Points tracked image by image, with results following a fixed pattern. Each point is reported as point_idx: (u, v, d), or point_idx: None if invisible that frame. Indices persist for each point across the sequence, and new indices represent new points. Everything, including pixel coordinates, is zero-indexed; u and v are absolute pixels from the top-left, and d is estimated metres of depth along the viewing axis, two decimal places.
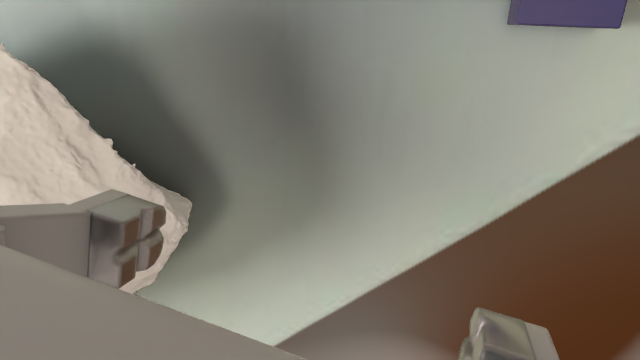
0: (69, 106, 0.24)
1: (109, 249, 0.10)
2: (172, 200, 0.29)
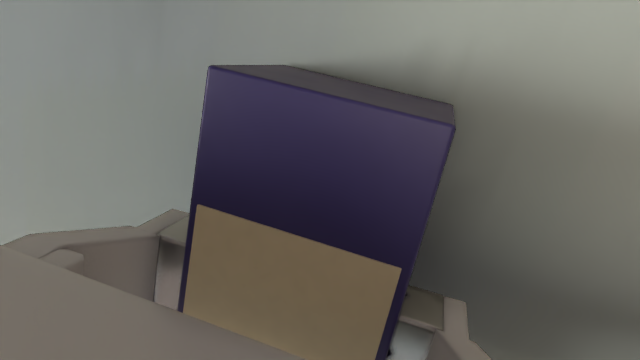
0: None
1: (177, 273, 0.10)
2: None
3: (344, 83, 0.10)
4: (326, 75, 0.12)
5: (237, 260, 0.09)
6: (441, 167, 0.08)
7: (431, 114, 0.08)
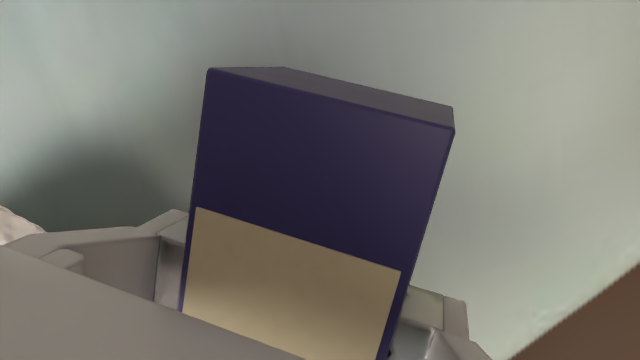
0: None
1: (177, 273, 0.10)
2: None
3: (344, 85, 0.10)
4: (326, 77, 0.11)
5: (236, 263, 0.09)
6: (441, 170, 0.08)
7: (431, 117, 0.08)
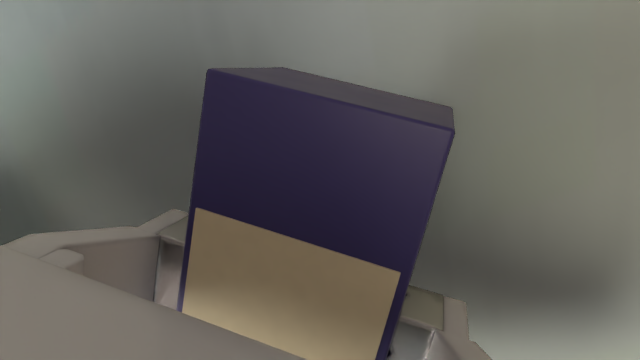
0: None
1: (177, 273, 0.10)
2: None
3: (343, 86, 0.10)
4: (325, 77, 0.11)
5: (236, 263, 0.09)
6: (440, 171, 0.08)
7: (430, 118, 0.08)
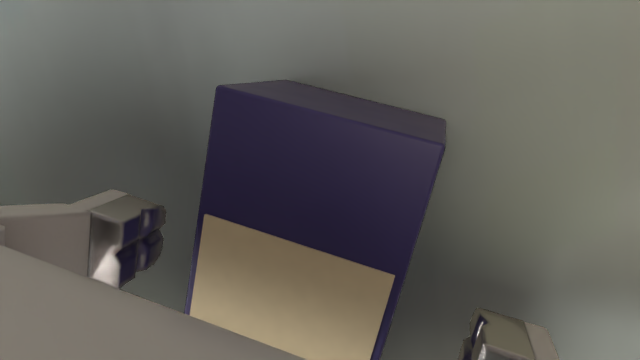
0: None
1: (109, 249, 0.10)
2: None
3: (343, 99, 0.11)
4: (326, 90, 0.12)
5: (241, 266, 0.10)
6: (432, 182, 0.08)
7: (423, 132, 0.09)
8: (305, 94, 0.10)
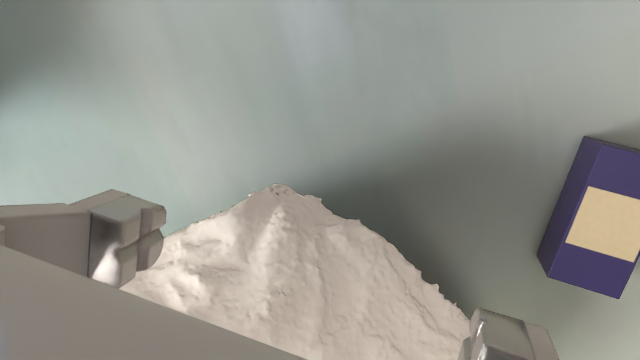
0: (407, 262, 0.27)
1: (109, 249, 0.10)
2: None
3: (620, 146, 0.30)
4: (604, 141, 0.31)
5: (600, 204, 0.29)
6: None
7: None
8: (613, 145, 0.29)
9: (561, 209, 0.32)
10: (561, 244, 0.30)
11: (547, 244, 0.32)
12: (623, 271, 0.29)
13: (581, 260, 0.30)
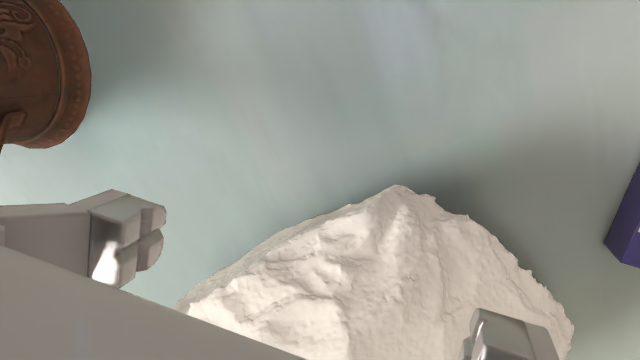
0: (507, 251, 0.31)
1: (109, 249, 0.10)
2: None
3: None
4: None
5: None
6: None
7: None
8: None
9: (630, 202, 0.36)
10: (634, 233, 0.34)
11: (616, 234, 0.36)
12: None
13: None
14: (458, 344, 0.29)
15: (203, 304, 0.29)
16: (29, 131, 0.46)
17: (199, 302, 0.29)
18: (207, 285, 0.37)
